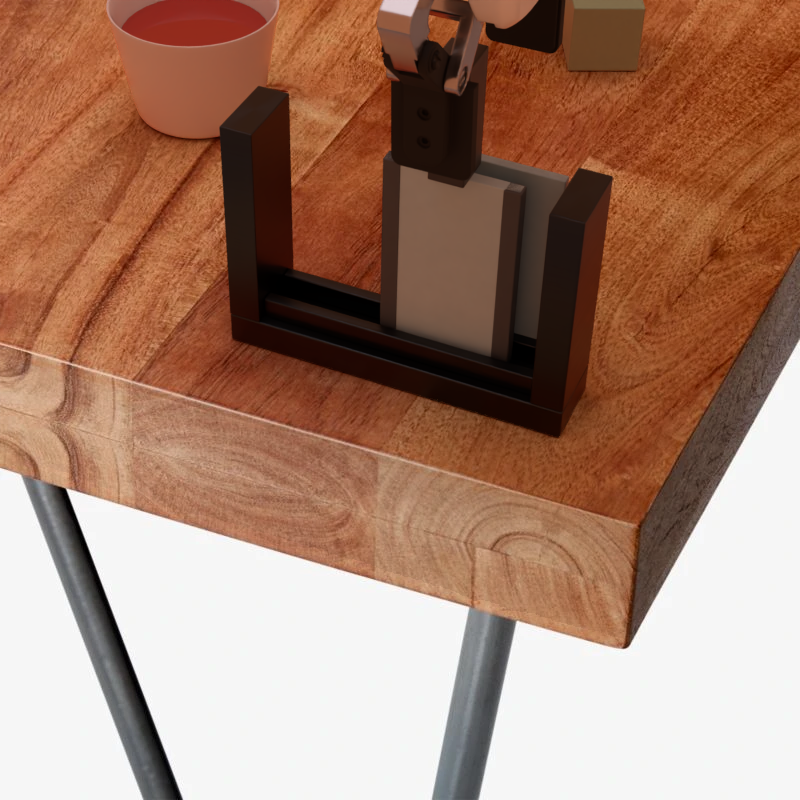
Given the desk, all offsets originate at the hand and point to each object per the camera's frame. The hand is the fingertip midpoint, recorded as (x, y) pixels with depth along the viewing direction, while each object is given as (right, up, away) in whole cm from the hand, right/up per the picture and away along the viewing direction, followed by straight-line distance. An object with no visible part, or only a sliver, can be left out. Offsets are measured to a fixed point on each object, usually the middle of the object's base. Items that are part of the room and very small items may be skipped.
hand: (480, 103), depth 65 cm
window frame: (-3, -10, +10) cm, 14 cm away
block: (+8, +8, +31) cm, 33 cm away
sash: (-1, -9, +8) cm, 12 cm away
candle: (-14, +4, +26) cm, 30 cm away
